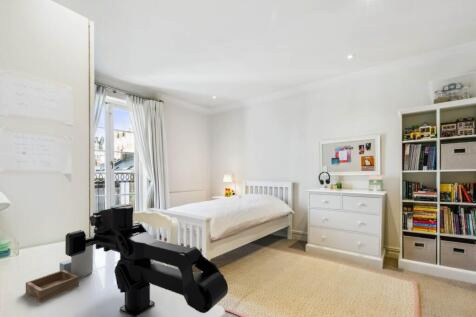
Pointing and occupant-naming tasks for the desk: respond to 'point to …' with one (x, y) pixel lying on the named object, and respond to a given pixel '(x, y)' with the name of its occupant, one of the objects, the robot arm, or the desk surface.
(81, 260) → the beverage can
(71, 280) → the tray
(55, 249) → the desk surface
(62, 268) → the block
